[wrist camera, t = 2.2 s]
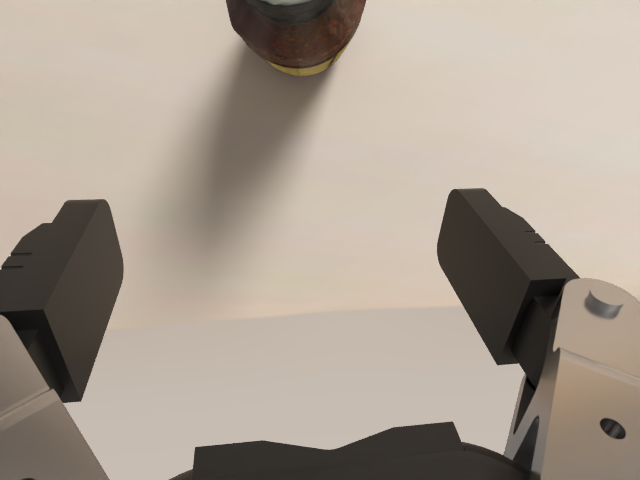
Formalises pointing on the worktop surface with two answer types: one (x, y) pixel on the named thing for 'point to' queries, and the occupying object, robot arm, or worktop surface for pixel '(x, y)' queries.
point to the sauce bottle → (296, 31)
